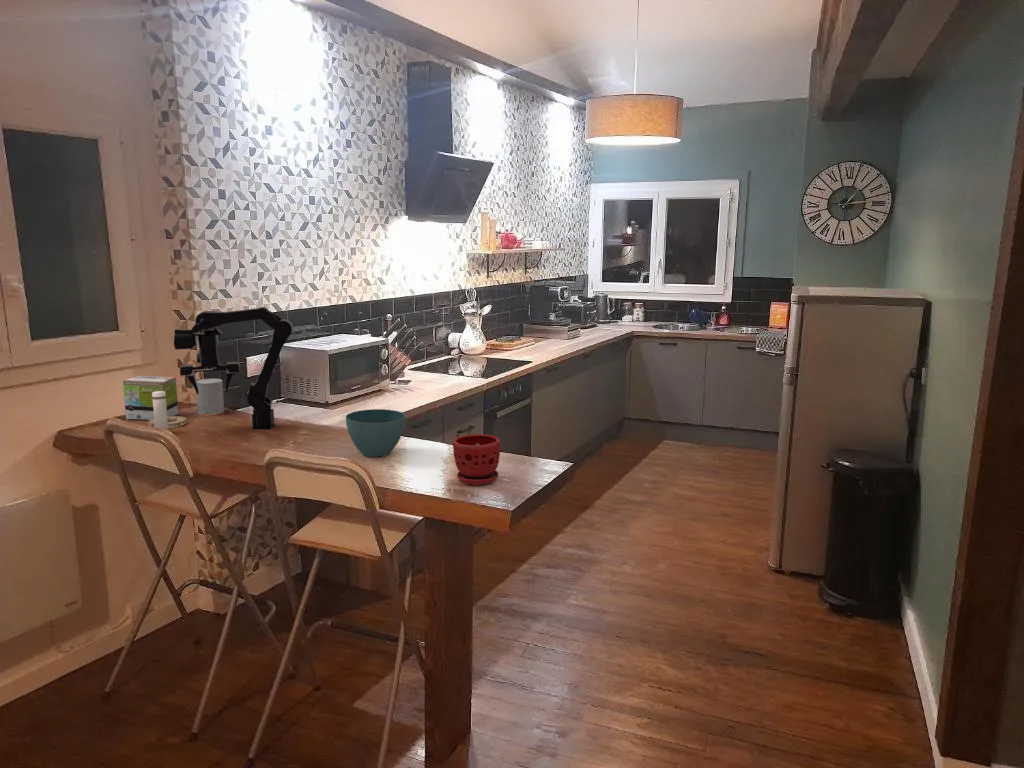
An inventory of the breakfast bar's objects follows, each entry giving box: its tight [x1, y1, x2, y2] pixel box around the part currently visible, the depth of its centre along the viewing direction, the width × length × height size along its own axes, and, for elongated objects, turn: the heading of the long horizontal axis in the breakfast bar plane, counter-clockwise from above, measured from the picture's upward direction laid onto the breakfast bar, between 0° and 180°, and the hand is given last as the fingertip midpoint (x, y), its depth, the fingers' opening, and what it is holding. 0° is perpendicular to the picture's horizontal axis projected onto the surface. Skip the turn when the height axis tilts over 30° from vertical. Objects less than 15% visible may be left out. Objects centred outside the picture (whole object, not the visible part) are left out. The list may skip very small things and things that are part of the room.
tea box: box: [122, 375, 179, 421], centre depth 270 cm, size 15×10×15 cm, turn 88°
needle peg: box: [152, 391, 169, 431], centre depth 249 cm, size 4×4×14 cm
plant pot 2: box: [452, 434, 501, 486], centre depth 206 cm, size 13×13×12 cm
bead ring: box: [147, 415, 188, 430], centre depth 261 cm, size 12×12×2 cm
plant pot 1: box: [345, 408, 406, 458], centre depth 229 cm, size 18×18×12 cm
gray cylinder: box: [195, 378, 225, 414], centre depth 278 cm, size 10×10×12 cm
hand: (212, 393), depth 253 cm, fingers open, 9 cm apart
